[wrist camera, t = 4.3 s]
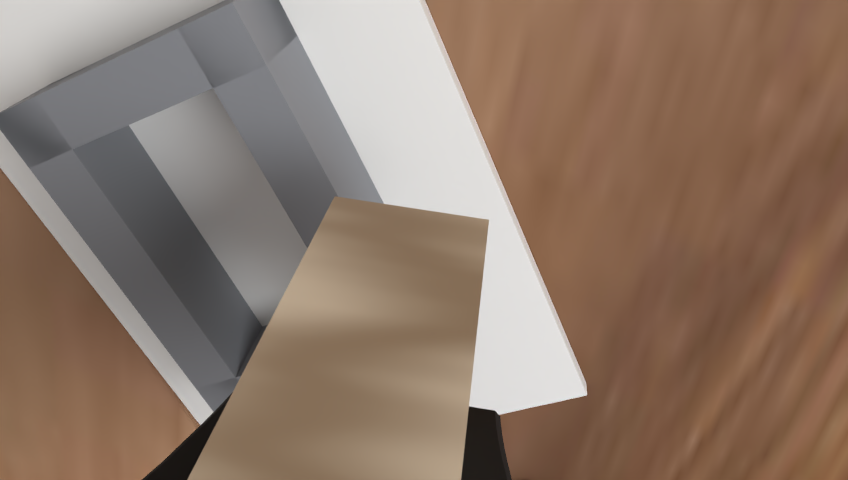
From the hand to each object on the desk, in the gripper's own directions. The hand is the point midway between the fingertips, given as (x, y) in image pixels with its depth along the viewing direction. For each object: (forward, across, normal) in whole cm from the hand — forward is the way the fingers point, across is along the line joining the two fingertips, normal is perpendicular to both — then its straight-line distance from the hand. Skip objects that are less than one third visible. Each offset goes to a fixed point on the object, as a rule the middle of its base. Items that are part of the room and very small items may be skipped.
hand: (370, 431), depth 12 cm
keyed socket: (+10, +5, +1) cm, 11 cm away
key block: (+3, 0, 0) cm, 3 cm away
